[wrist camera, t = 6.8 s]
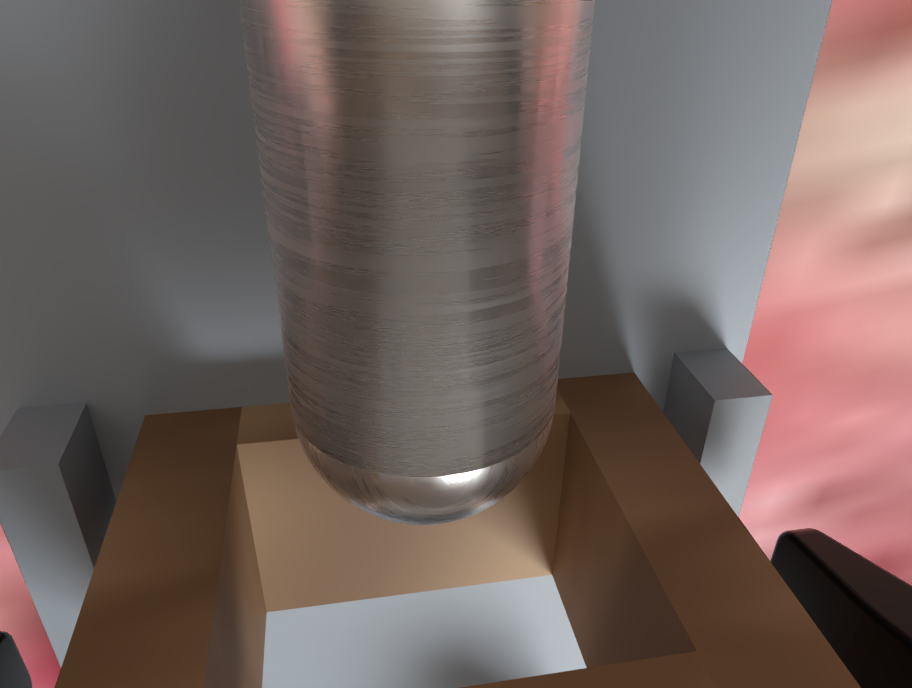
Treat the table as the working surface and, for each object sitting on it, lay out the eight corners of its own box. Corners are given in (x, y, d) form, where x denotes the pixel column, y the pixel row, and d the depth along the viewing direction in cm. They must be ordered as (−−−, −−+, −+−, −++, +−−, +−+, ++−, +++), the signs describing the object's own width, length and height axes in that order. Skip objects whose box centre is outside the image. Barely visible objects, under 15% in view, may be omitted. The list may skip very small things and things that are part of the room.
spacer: (634, 372, 10) (915, 763, 5) (609, 527, 12) (813, 941, 7) (145, 415, 9) (-32, 943, 4) (187, 579, 11) (88, 1105, 6)
